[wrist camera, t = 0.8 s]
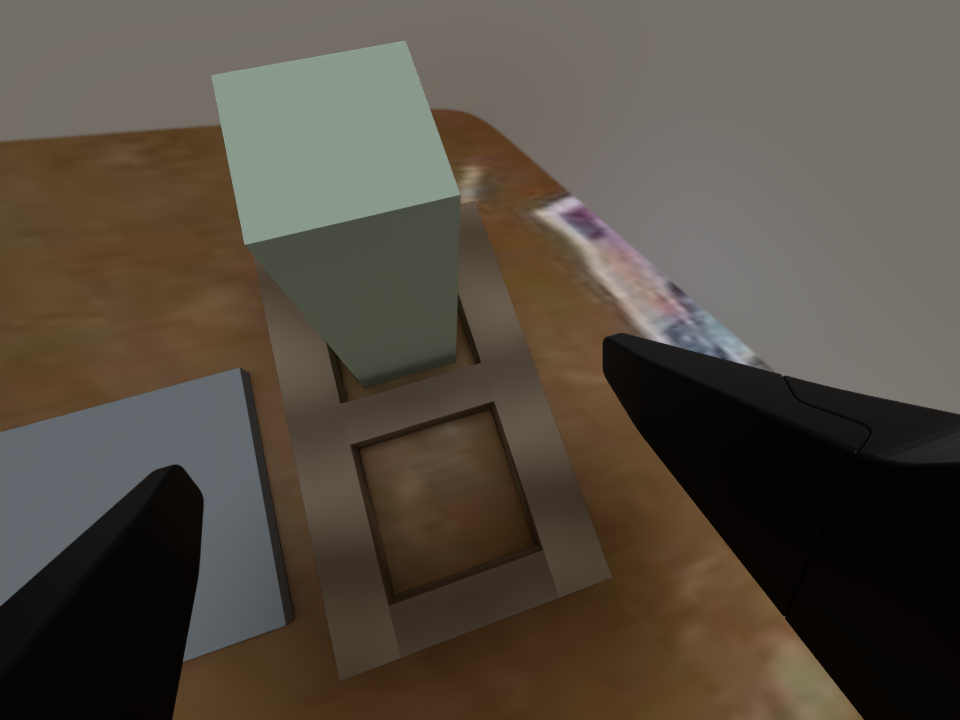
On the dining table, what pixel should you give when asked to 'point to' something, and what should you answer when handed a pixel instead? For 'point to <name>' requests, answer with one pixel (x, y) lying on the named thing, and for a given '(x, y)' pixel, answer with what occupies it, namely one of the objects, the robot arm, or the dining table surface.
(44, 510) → the grey mat
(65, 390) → the dining table surface
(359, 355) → the sage block
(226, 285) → the dining table surface
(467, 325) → the puzzle board
